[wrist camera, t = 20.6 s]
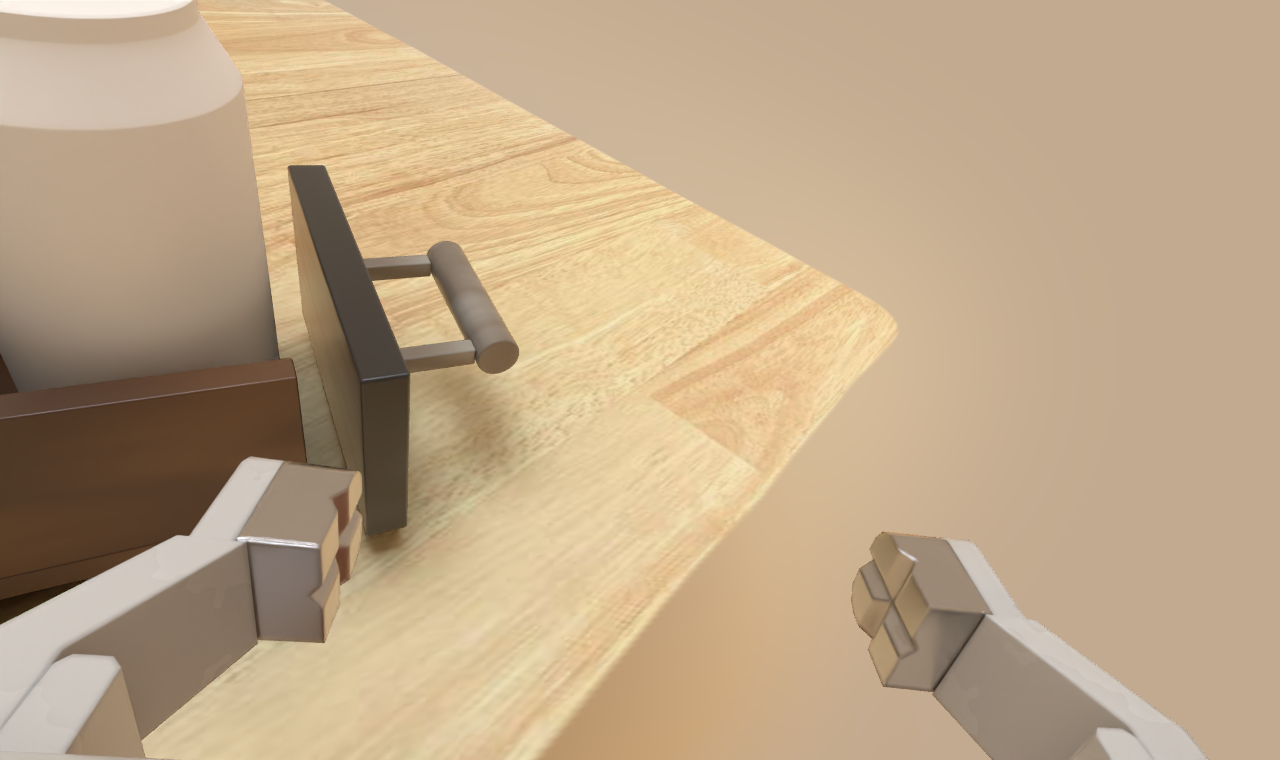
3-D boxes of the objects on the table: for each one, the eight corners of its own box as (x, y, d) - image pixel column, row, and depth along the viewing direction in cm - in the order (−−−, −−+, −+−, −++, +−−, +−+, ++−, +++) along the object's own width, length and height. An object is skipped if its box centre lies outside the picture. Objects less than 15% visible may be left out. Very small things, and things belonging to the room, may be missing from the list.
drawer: (437, 299, 30) (444, 163, 26) (534, 495, 23) (563, 351, 19) (-89, 351, 22) (-196, 164, 18) (-180, 678, 15) (-385, 493, 11)
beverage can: (-8, 409, 20) (-256, -80, 12) (204, 323, 24) (119, -72, 17) (127, 527, 18) (-65, 44, 10) (328, 411, 22) (296, 15, 15)
